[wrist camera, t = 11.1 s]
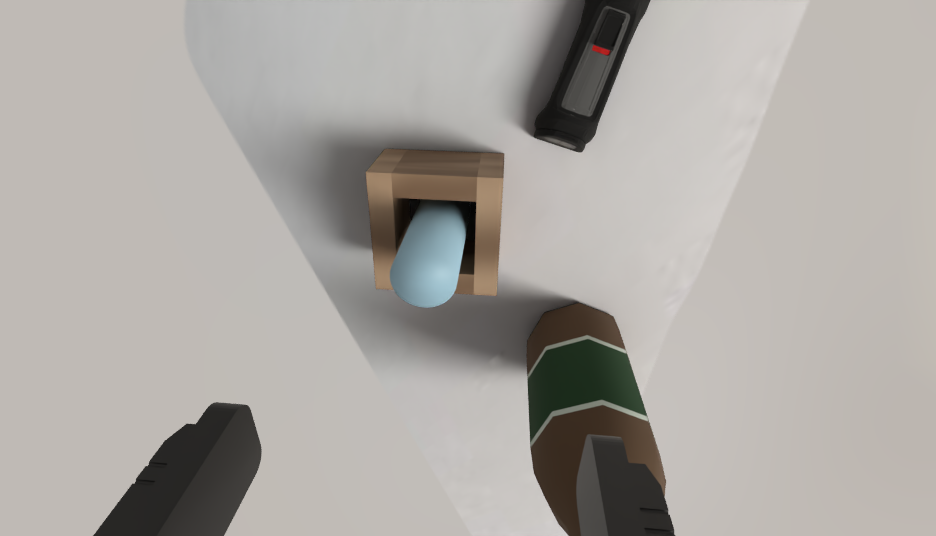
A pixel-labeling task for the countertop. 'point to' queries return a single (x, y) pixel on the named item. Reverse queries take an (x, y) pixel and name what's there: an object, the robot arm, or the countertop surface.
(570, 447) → the beer bottle
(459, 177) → the socket block
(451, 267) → the peg
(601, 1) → the electric trimmer
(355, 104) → the countertop surface
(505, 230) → the countertop surface
